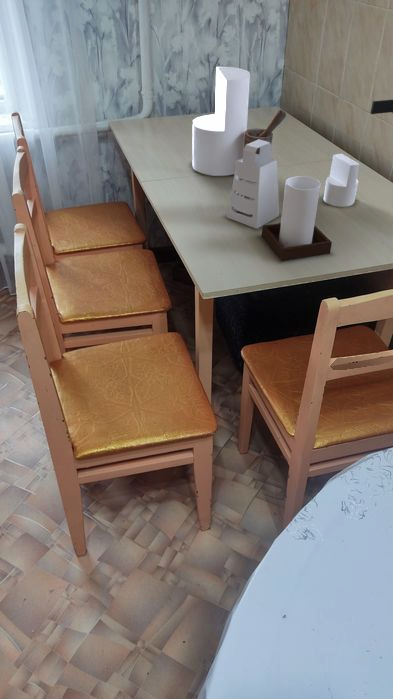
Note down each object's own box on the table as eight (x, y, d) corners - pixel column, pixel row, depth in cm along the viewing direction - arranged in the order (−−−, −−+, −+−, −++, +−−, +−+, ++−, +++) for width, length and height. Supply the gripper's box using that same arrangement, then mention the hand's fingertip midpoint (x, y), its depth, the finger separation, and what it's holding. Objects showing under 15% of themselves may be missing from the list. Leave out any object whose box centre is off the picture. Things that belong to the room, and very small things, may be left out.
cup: (275, 236, 141) (282, 176, 131) (306, 234, 141) (315, 175, 131) (282, 252, 134) (290, 190, 124) (315, 250, 135) (325, 189, 125)
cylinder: (238, 155, 187) (243, 65, 169) (249, 174, 174) (255, 79, 156) (189, 157, 185) (188, 67, 167) (195, 177, 172) (196, 81, 154)
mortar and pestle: (272, 167, 179) (278, 103, 166) (282, 177, 172) (289, 111, 159) (238, 170, 176) (242, 106, 163) (247, 181, 170) (252, 114, 157)
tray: (306, 230, 145) (308, 218, 142) (329, 253, 135) (332, 242, 133) (261, 236, 142) (262, 225, 140) (281, 261, 132) (282, 249, 130)
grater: (226, 217, 150) (229, 144, 138) (248, 204, 157) (253, 134, 144) (256, 228, 145) (262, 154, 132) (279, 215, 151) (286, 143, 138)
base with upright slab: (360, 203, 158) (369, 162, 150) (334, 208, 155) (341, 167, 147) (342, 191, 164) (350, 152, 156) (317, 196, 161) (323, 156, 154)
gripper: (497, 141, 122) (416, 151, 117) (430, 110, 140) (357, 117, 135) (510, 106, 117) (425, 114, 112) (438, 78, 135) (363, 84, 130)
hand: (387, 116), depth 124 cm, fingers open, 13 cm apart
